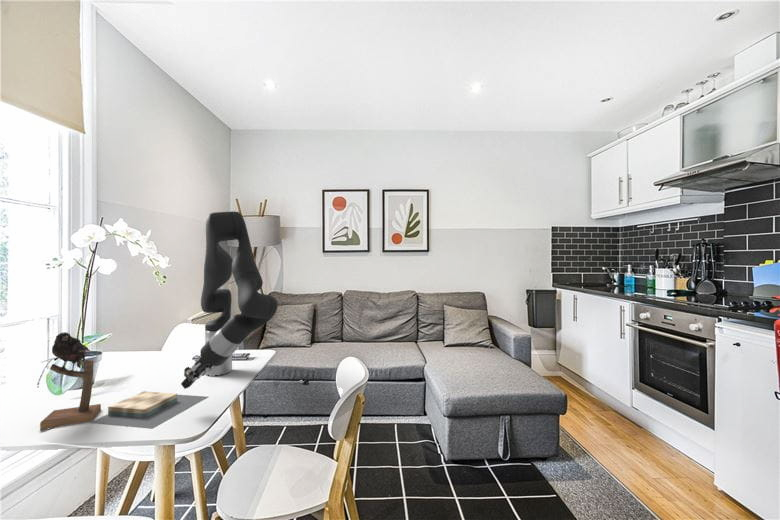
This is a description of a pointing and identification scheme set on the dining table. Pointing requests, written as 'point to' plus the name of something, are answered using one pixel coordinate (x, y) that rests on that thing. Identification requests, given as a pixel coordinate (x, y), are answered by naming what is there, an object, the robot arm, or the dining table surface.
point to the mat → (155, 418)
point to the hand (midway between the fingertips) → (184, 385)
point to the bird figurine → (74, 353)
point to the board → (142, 404)
